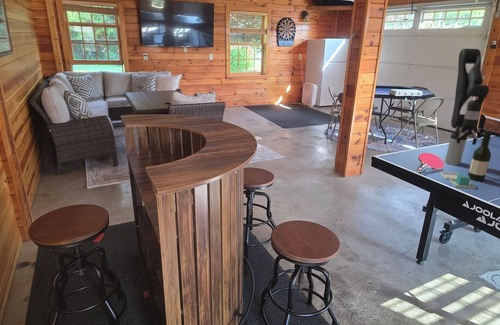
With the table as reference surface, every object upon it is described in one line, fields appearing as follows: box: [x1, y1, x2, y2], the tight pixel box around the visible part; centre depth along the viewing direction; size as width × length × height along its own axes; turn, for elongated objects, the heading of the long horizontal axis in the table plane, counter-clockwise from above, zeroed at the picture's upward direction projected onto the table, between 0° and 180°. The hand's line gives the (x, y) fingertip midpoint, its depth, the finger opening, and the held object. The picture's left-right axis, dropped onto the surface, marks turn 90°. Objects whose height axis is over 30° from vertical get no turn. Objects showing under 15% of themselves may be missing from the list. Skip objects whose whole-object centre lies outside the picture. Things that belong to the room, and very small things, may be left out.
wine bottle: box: [467, 129, 492, 182], centre depth 189 cm, size 8×8×30 cm
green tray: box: [449, 179, 476, 190], centre depth 186 cm, size 10×10×1 cm
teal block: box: [456, 173, 471, 186], centre depth 185 cm, size 5×5×5 cm
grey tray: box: [440, 171, 460, 181], centre depth 196 cm, size 10×10×1 cm
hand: (465, 144), depth 204 cm, fingers open, 8 cm apart
